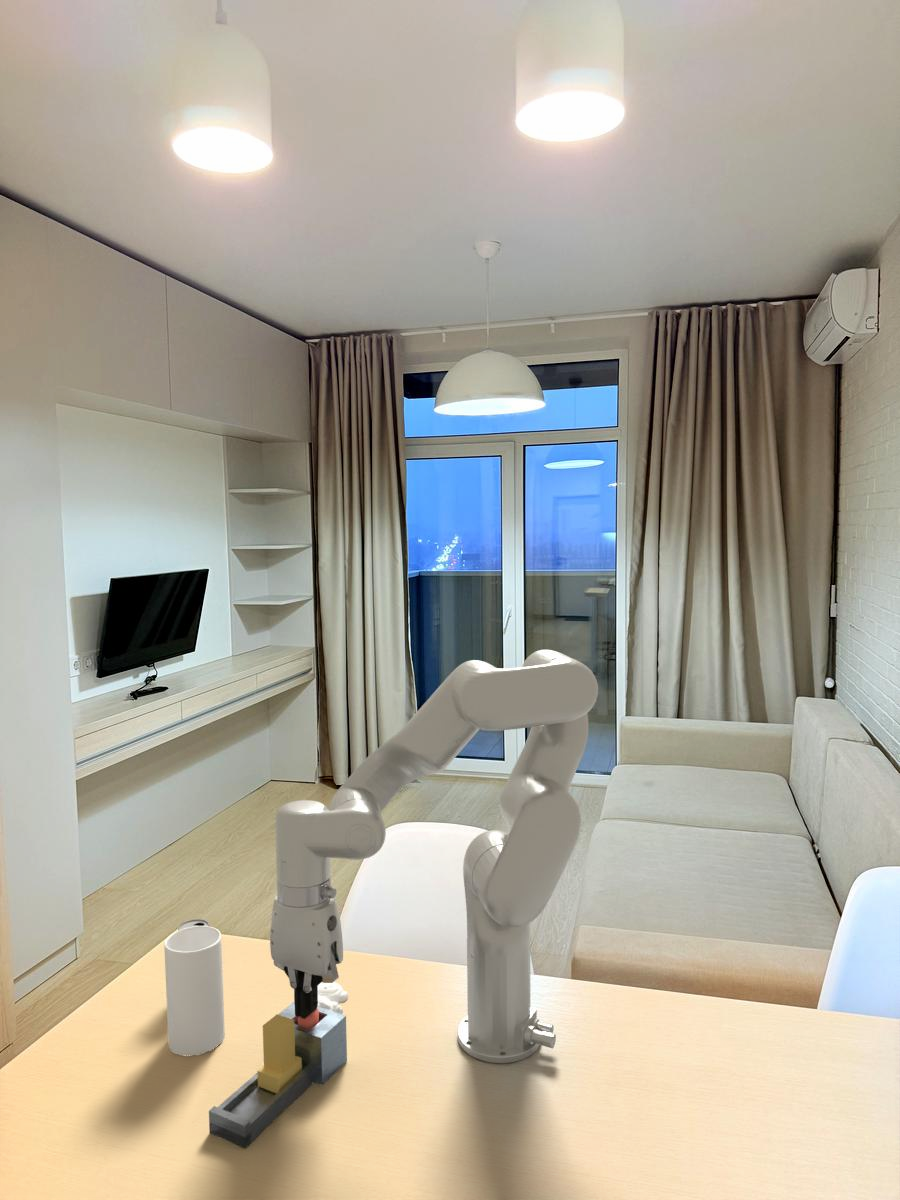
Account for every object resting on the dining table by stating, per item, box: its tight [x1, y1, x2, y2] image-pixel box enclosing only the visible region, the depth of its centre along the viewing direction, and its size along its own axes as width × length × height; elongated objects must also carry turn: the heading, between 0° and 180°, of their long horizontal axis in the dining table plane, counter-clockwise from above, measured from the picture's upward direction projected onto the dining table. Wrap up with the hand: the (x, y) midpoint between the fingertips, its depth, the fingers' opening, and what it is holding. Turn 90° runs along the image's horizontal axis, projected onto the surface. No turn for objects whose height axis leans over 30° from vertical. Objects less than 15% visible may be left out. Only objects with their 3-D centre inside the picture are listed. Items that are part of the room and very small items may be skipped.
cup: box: [163, 925, 226, 1057], centre depth 126 cm, size 8×8×16 cm
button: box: [298, 1009, 319, 1029], centre depth 120 cm, size 3×3×5 cm
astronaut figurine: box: [318, 981, 349, 1014], centre depth 135 cm, size 9×12×3 cm
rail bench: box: [208, 1001, 348, 1150], centre depth 114 cm, size 9×20×7 cm, turn 152°
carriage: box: [256, 1013, 302, 1093], centre depth 115 cm, size 4×5×8 cm
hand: (306, 1012), depth 120 cm, fingers closed
